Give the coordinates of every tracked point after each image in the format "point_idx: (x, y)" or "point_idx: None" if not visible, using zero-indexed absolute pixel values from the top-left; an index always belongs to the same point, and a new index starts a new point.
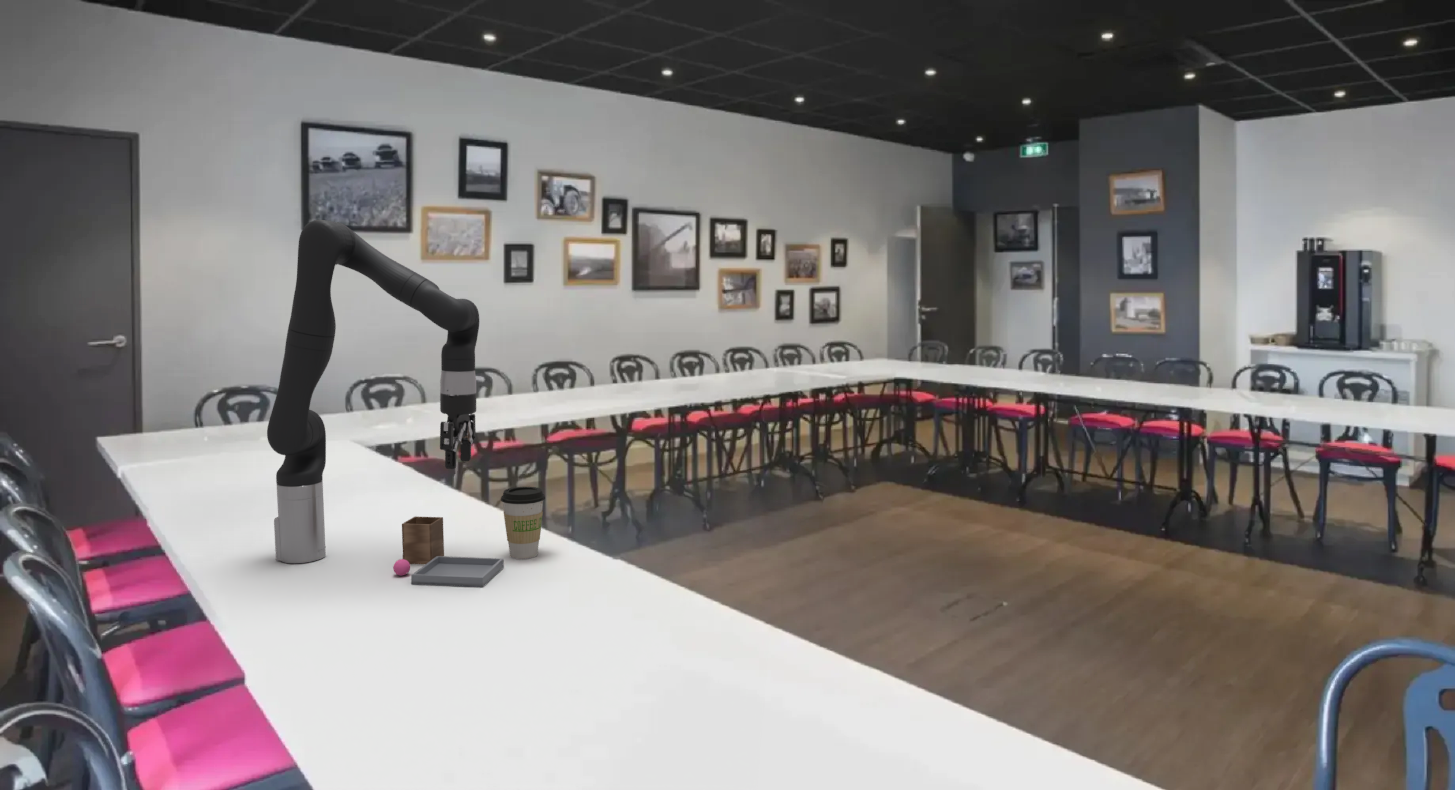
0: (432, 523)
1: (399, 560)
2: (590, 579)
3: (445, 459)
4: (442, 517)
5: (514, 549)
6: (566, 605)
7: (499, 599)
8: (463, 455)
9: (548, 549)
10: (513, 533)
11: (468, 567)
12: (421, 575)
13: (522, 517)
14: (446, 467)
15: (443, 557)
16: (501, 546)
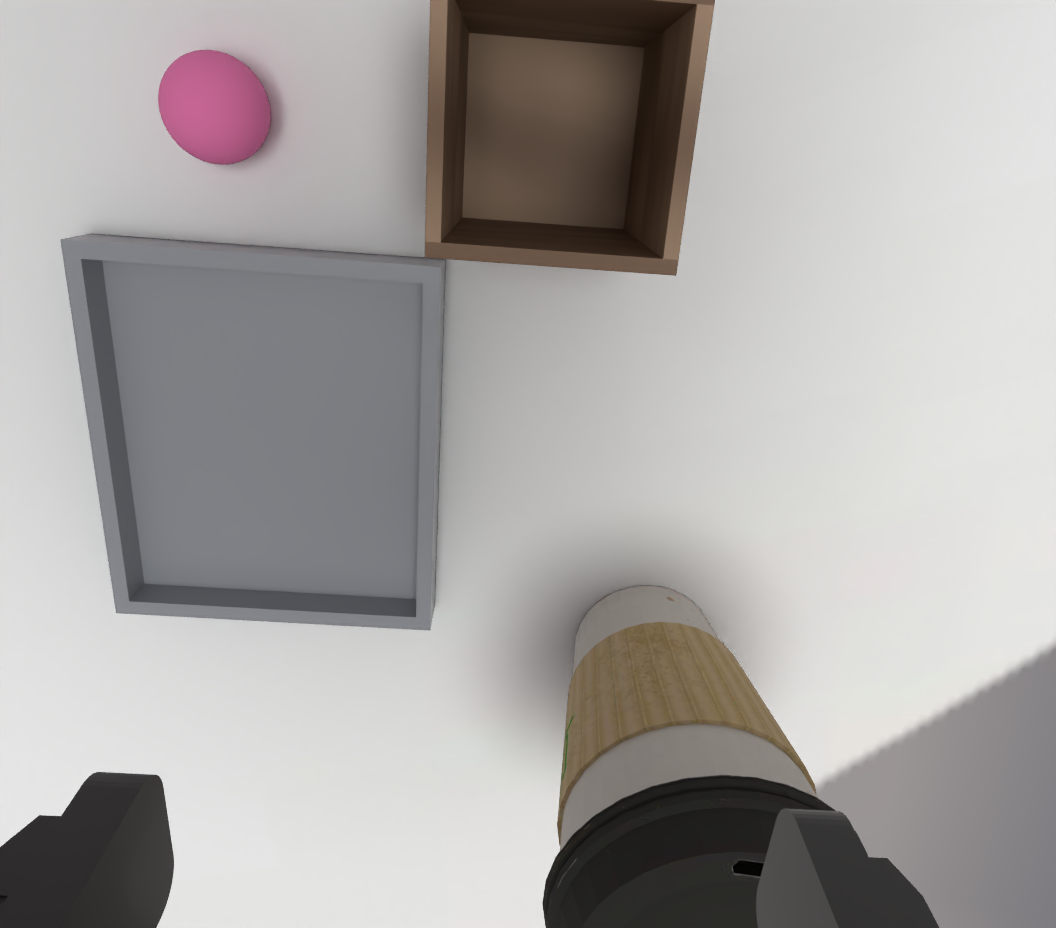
0: (471, 253)
1: (180, 96)
2: (321, 922)
3: (3, 905)
4: (671, 272)
5: (579, 647)
6: None
7: (11, 685)
8: (806, 921)
9: None
10: (572, 708)
11: (369, 463)
12: (71, 302)
13: (559, 836)
14: (95, 787)
15: (423, 315)
16: (804, 507)
